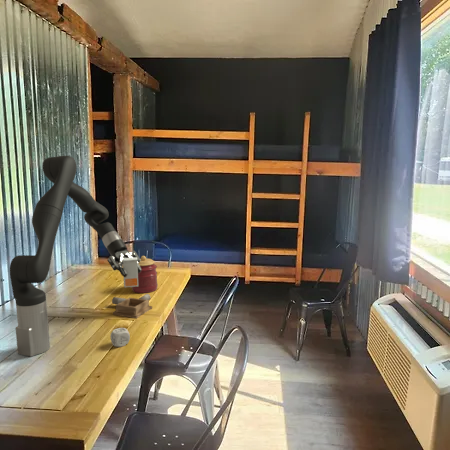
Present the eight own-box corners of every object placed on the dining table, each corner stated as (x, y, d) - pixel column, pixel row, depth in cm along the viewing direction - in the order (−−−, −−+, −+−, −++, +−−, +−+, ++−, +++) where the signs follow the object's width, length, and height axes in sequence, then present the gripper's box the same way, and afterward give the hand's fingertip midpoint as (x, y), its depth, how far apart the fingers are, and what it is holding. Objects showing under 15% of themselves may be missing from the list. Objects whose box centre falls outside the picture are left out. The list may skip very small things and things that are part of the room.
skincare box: (124, 287, 165) (122, 260, 164) (123, 284, 169) (122, 258, 168) (138, 286, 167) (137, 259, 165) (138, 283, 171) (137, 257, 169)
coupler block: (136, 318, 162) (136, 308, 162) (101, 312, 169) (100, 303, 168) (159, 303, 179) (158, 295, 178) (126, 299, 185) (125, 291, 185)
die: (130, 343, 139) (129, 330, 138) (117, 348, 136) (116, 334, 135) (123, 339, 143) (122, 326, 142) (110, 343, 139) (109, 330, 138)
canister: (160, 291, 196) (158, 257, 194) (134, 295, 192) (132, 259, 189) (154, 284, 208) (153, 252, 206) (130, 287, 204) (128, 254, 201)
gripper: (104, 241, 164) (123, 272, 159) (130, 236, 175) (149, 265, 170) (96, 252, 168) (115, 283, 163) (123, 246, 179) (142, 275, 174)
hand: (133, 273), depth 166 cm, fingers closed on skincare box, 7 cm apart
